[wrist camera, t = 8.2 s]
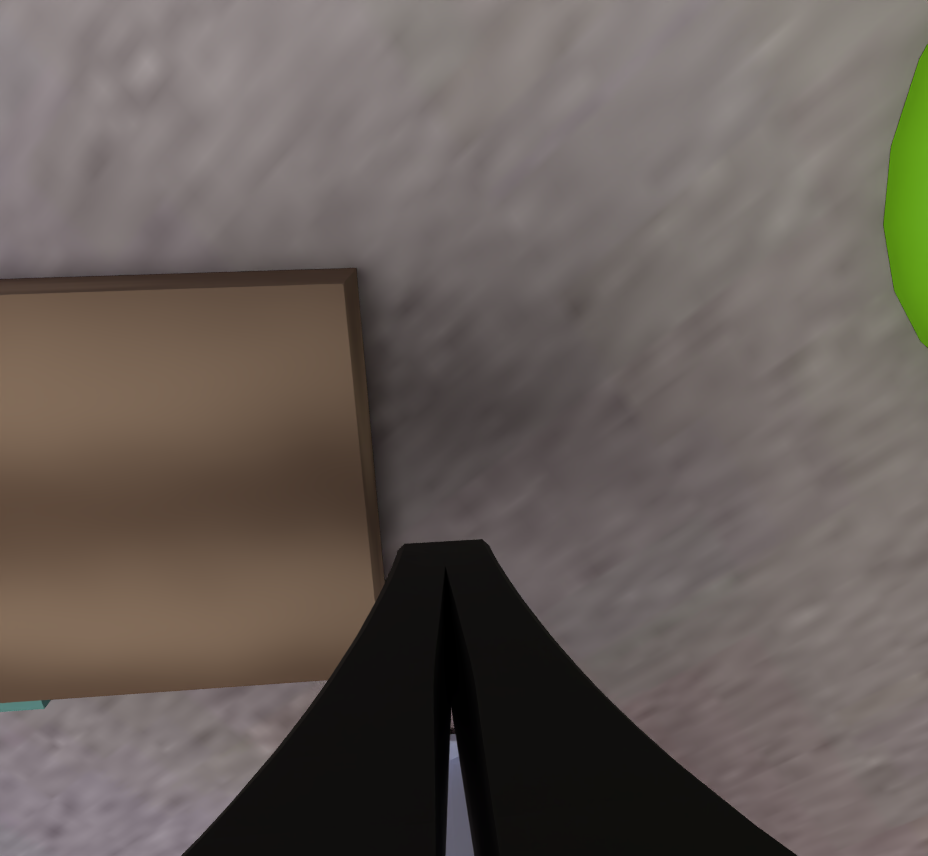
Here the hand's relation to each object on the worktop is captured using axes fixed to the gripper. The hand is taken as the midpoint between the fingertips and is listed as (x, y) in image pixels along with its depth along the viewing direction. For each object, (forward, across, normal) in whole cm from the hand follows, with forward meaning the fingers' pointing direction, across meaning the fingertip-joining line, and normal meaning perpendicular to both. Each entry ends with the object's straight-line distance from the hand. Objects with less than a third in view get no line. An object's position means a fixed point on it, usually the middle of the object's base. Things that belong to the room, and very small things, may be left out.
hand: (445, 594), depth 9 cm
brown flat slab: (+9, +8, +2) cm, 13 cm away
